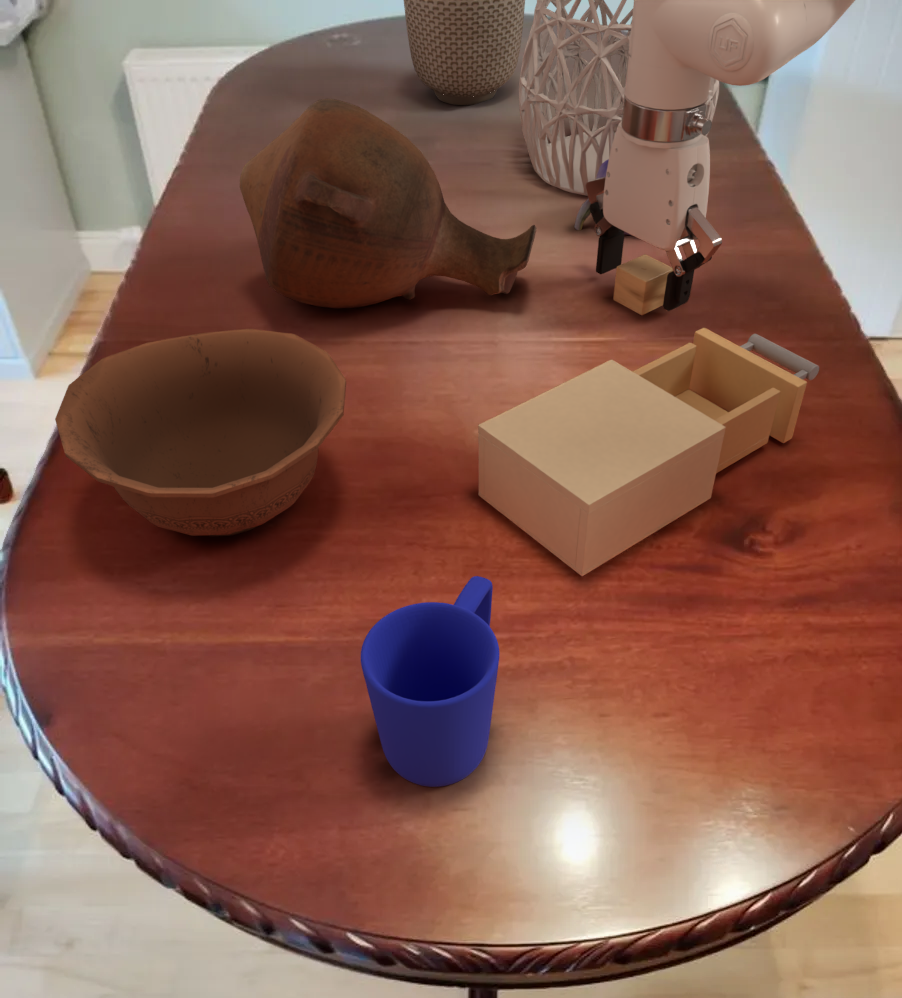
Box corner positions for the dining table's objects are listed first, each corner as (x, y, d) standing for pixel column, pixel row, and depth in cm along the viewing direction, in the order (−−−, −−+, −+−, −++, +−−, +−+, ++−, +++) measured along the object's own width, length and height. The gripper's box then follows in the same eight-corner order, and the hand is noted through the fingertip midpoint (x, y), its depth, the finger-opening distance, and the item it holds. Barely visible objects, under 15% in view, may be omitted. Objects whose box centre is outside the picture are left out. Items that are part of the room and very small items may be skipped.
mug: (537, 684, 70) (543, 582, 63) (466, 821, 62) (464, 724, 55) (431, 649, 72) (426, 547, 65) (351, 776, 65) (334, 677, 58)
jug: (221, 325, 104) (500, 388, 104) (201, 159, 88) (533, 234, 87) (276, 204, 115) (530, 261, 115) (268, 35, 98) (565, 102, 98)
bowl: (154, 418, 93) (124, 312, 85) (384, 438, 90) (375, 330, 82) (49, 583, 78) (0, 472, 70) (321, 614, 75) (302, 502, 67)
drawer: (731, 362, 96) (742, 307, 92) (829, 415, 89) (846, 359, 85) (589, 437, 88) (594, 381, 84) (685, 502, 82) (696, 445, 77)
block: (640, 290, 107) (645, 253, 104) (669, 305, 105) (674, 268, 102) (612, 303, 106) (616, 266, 103) (641, 319, 103) (645, 281, 100)
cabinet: (603, 432, 90) (611, 358, 84) (710, 502, 83) (726, 426, 77) (478, 499, 84) (477, 424, 78) (581, 580, 77) (588, 504, 71)
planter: (384, 101, 148) (375, -23, 137) (454, 67, 157) (452, -51, 146) (478, 126, 140) (477, -3, 129) (545, 89, 150) (551, -34, 138)
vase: (521, 130, 139) (528, -134, 118) (698, 132, 137) (737, -136, 115) (512, 207, 122) (518, -84, 101) (713, 210, 120) (762, -86, 99)
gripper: (764, 134, 89) (728, 308, 101) (625, 81, 98) (608, 246, 110) (706, 156, 85) (677, 333, 98) (569, 99, 95) (558, 267, 107)
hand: (641, 287), depth 104 cm, fingers open, 9 cm apart
